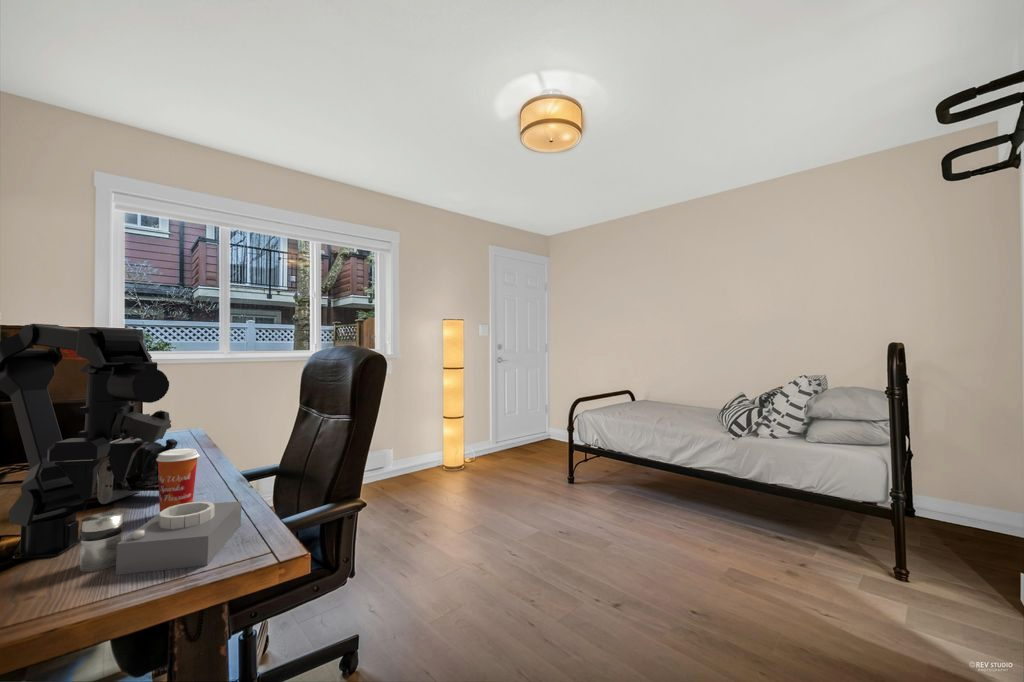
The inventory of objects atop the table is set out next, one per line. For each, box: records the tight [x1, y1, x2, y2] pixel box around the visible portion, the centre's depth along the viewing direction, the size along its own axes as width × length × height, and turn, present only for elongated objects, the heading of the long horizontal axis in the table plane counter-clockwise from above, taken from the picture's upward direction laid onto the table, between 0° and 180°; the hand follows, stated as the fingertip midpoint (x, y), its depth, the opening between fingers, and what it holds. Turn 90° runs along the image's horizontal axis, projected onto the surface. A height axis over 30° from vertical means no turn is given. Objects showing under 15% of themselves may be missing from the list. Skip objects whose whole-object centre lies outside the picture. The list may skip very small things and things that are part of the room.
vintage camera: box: [96, 438, 179, 505], centre depth 108 cm, size 10×16×20 cm, turn 89°
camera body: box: [115, 500, 242, 576], centre depth 82 cm, size 13×18×7 cm
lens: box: [79, 510, 124, 573], centre depth 75 cm, size 5×5×8 cm
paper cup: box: [156, 448, 201, 513], centre depth 98 cm, size 8×8×14 cm
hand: (104, 490), depth 75 cm, fingers open, 9 cm apart
